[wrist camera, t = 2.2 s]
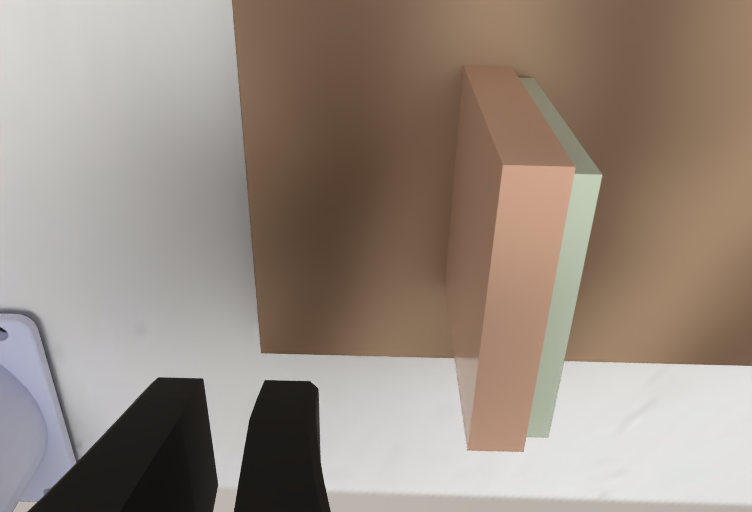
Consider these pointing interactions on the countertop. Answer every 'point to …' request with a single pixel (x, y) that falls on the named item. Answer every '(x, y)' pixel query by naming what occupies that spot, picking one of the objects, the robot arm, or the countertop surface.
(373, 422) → the countertop surface
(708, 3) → the board
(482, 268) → the tile
